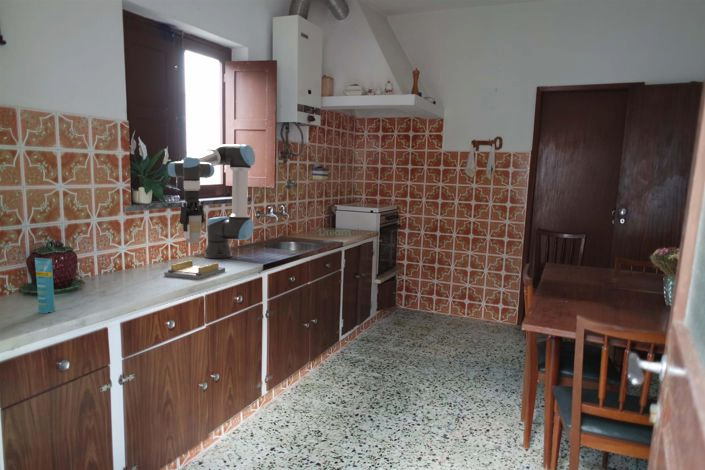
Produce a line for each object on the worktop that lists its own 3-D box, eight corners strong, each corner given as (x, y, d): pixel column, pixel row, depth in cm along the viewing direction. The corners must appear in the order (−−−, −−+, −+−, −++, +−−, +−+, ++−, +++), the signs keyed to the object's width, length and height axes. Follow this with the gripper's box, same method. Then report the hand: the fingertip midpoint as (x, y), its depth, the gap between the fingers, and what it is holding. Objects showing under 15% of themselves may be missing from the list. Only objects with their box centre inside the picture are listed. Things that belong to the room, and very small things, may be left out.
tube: (32, 312, 169) (28, 258, 167) (43, 309, 174) (39, 256, 172) (51, 314, 168) (47, 259, 166) (61, 310, 173) (58, 257, 170)
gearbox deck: (192, 268, 248) (191, 258, 248) (225, 271, 242) (225, 261, 241) (164, 276, 230) (164, 265, 229) (199, 280, 223) (199, 269, 222)
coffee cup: (196, 243, 229) (195, 211, 227) (178, 242, 231) (177, 211, 229) (206, 241, 238) (206, 210, 236) (189, 240, 240) (188, 209, 238)
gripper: (199, 189, 243) (200, 234, 245) (170, 190, 223) (171, 239, 226) (212, 189, 240) (212, 235, 243) (183, 190, 221) (184, 240, 223)
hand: (192, 237), depth 234 cm, fingers closed on coffee cup, 8 cm apart
